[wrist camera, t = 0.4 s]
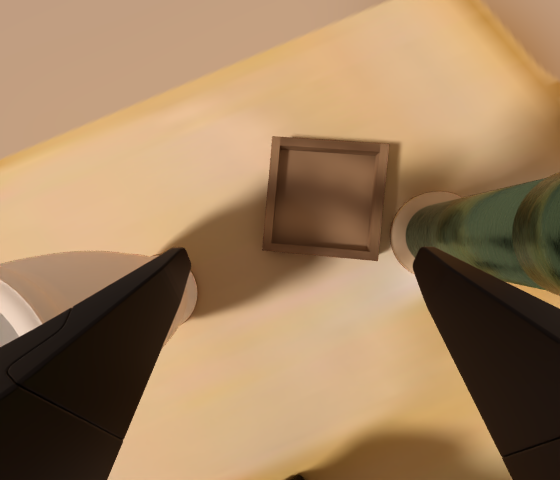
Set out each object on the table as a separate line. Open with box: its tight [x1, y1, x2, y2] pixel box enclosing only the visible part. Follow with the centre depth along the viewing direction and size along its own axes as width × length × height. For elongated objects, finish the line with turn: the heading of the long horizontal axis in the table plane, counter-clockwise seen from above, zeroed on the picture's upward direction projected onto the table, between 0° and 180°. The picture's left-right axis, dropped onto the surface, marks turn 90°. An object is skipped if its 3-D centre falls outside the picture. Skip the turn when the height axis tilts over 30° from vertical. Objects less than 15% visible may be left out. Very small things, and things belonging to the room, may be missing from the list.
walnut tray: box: [262, 136, 389, 261], centre depth 21 cm, size 11×11×2 cm
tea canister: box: [405, 173, 560, 296], centre depth 15 cm, size 7×7×12 cm
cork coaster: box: [390, 191, 462, 274], centre depth 22 cm, size 9×9×1 cm
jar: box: [0, 251, 197, 348], centre depth 16 cm, size 11×10×15 cm
